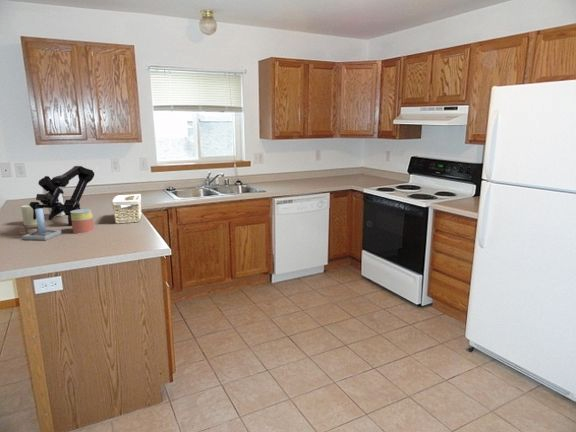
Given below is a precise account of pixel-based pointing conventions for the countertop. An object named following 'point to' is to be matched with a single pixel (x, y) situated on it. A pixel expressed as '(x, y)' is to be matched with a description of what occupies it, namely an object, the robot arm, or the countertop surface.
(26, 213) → the can
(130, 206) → the storage basket
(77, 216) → the canned food
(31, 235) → the tray
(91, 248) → the countertop surface
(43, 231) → the tall blue pillar
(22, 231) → the slot
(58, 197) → the skincare box
